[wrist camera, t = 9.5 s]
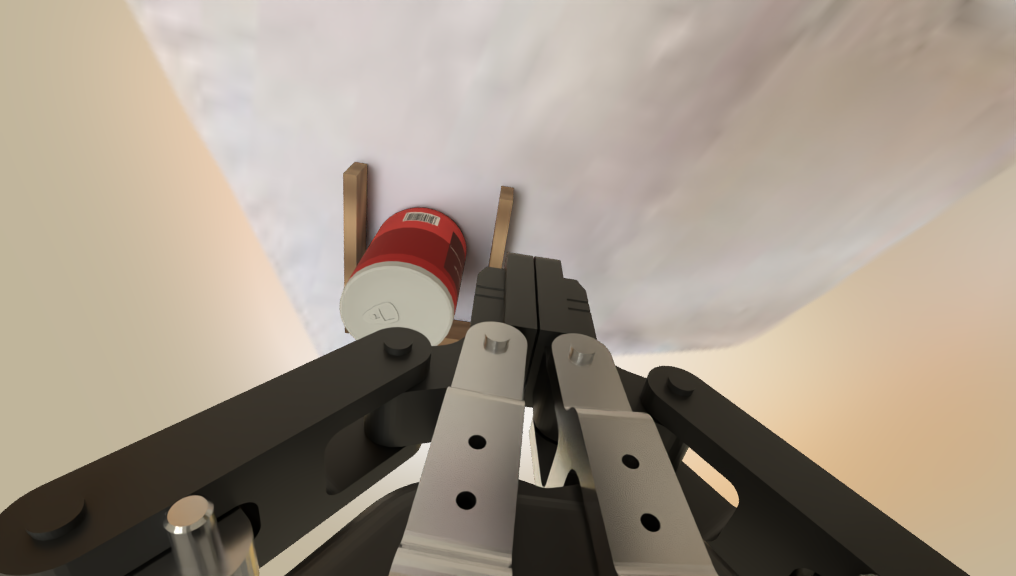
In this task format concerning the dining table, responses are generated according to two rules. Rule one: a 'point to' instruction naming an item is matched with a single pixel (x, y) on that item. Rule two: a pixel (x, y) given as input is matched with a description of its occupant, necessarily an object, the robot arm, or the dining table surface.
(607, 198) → the dining table surface
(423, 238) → the canned food
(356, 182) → the corral
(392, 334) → the robot arm
